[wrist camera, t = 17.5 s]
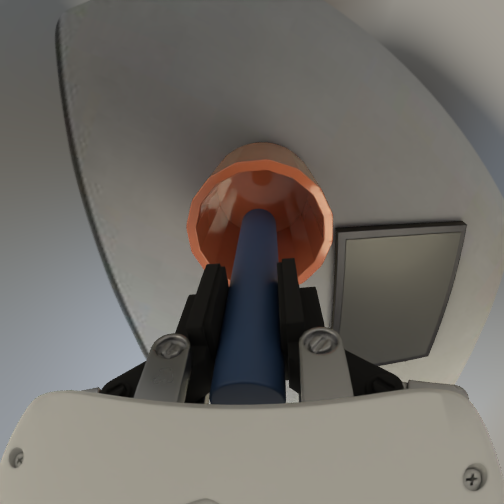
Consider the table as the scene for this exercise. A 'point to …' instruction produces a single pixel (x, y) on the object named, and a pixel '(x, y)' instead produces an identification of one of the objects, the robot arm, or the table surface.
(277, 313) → the stylus
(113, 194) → the table surface
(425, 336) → the tablet
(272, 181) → the pen cup
